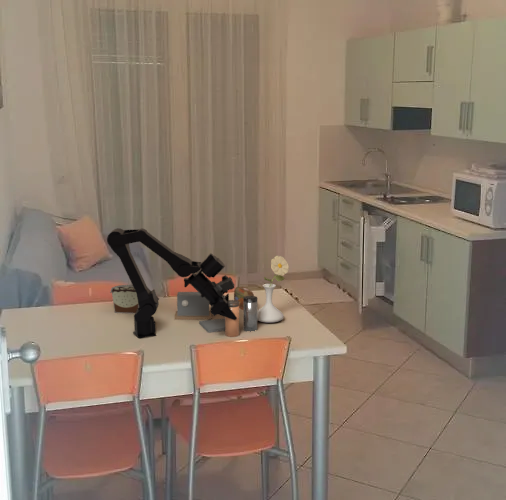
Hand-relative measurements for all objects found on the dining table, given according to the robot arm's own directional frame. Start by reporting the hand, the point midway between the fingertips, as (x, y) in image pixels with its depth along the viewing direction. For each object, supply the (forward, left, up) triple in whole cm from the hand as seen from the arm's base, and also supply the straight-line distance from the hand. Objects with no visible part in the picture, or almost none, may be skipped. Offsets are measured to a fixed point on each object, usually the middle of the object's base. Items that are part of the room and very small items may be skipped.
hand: (236, 316), depth 244 cm
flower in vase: (+19, +9, -7) cm, 22 cm away
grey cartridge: (+7, +3, -7) cm, 10 cm away
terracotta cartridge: (-1, +1, -7) cm, 7 cm away
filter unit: (-5, +27, -7) cm, 28 cm away
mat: (-2, +11, -7) cm, 13 cm away
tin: (+17, +27, -7) cm, 32 cm away
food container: (-25, +45, -7) cm, 52 cm away
